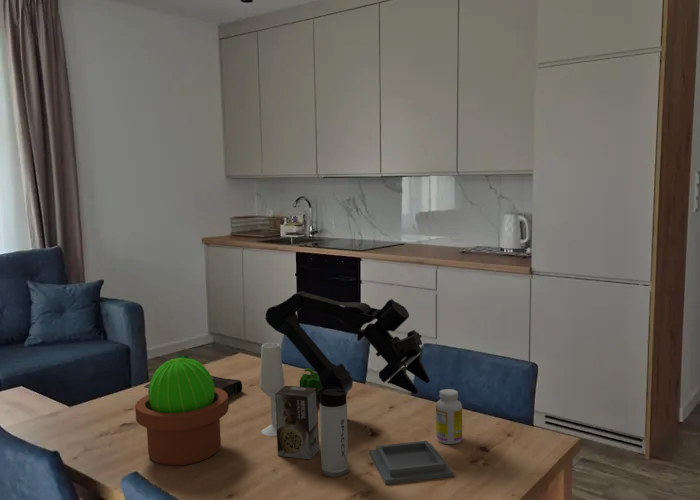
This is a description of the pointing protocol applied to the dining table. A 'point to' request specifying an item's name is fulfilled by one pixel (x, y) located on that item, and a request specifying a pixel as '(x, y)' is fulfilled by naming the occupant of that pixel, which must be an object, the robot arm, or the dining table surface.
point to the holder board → (409, 462)
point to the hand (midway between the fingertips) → (423, 387)
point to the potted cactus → (182, 413)
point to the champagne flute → (271, 379)
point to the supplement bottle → (449, 417)
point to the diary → (225, 385)
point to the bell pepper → (310, 380)
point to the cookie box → (297, 422)
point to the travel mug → (333, 431)
